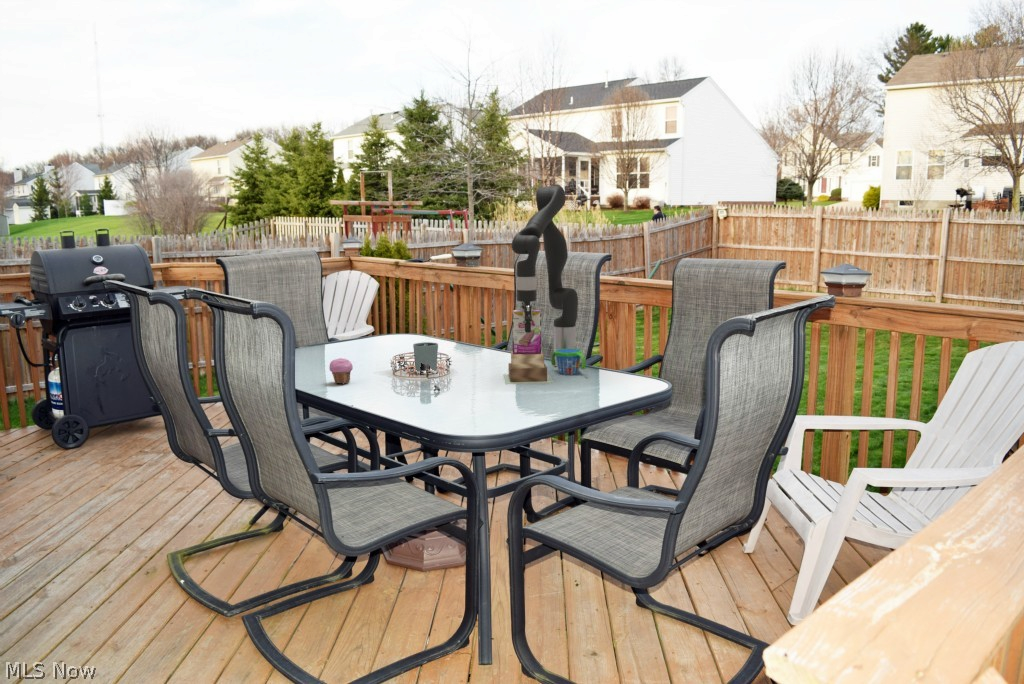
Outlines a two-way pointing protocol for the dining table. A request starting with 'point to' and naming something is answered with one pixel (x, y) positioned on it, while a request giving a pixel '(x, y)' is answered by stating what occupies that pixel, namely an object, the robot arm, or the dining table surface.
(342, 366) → the cupcake
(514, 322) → the candy bar box
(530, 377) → the walnut block
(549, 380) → the sage mat
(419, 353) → the grey green cup
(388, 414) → the dining table surface
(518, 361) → the maple block
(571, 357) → the snack cup
